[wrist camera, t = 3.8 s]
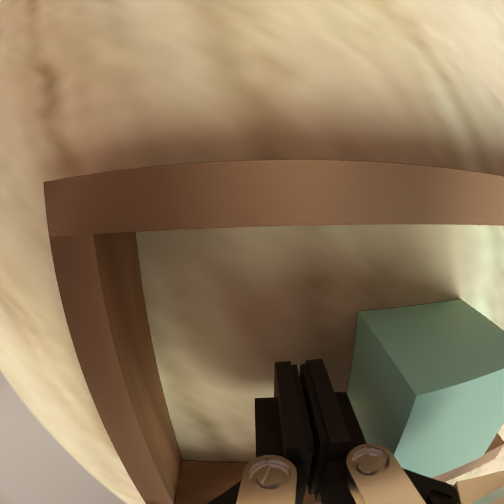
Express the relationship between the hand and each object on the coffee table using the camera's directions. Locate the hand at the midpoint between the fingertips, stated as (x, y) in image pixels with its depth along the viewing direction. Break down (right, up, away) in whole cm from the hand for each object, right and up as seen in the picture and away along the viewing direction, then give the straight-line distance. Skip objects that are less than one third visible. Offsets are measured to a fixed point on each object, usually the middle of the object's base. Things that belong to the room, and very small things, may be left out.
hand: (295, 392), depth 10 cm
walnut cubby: (+4, 0, +1) cm, 4 cm away
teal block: (+5, +1, +1) cm, 5 cm away
